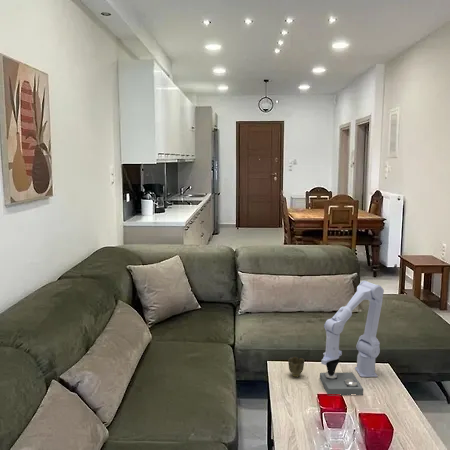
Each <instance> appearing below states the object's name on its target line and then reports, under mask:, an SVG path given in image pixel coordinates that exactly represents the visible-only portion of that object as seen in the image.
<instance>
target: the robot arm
mask: <svg viewBox="0 0 450 450" xmlns="http://www.w3.org/2000/svg"><path fill="white" fill-rule="evenodd" d="M384 292H385V290H384V288H383V287H382V285H380V284H375V283H372V282H370V281H367V280H362V281H360V283H359V284H358V285H357V287H356V292H355V293H354V295H352V297H351V298H350V300H349V301H348V302H347V303H346V305H345V306H344V305H343V306H341V307H340V308H339V309H338V311H336V313H335V314H333V316H332V317H331V318H327V319H326V321H325V323H324V324H323V328H324V329H325V334H326V335H325V336H326V340H325V352H323V353H322V354H323V358H322V359H321V361H320V363H321V364H322V365H324V366H326V370H327V372H328V374H329V375H334V373H336V368H337V367H338V365H339V363H340V357H341V356H342V355H343V351H342V350H340V339H341V337H340V334H341V333H343V331H344V327H345V325H346V323H347V322H348V320H349V319H350V318H351V317H352V316H353V311H354V309H356V308H357V306H359V305H360V304H361V303H362V302H363V301H364V300H365V301H366V300H367V301H369V304H368V310H367V316H366V321H365V326H364V332H363V334H361V335H360V336H358V341H357V343H356V346H355V347H356V350H357V351H358V353H357V356H356V366H355V367H354V369H355V371H356V372H357V374H358V375H359V376H360V378H378V374H377V373H376V372H375V371H376V359H377V357H378V356H379V354H380V352H381V349H380V344H381V343H380V340H379V339H378V338H377V333H378V328H379V323H380V322H379V321H380V317H381V310H382V306H383V301H384V299H383V296H384Z"/></svg>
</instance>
